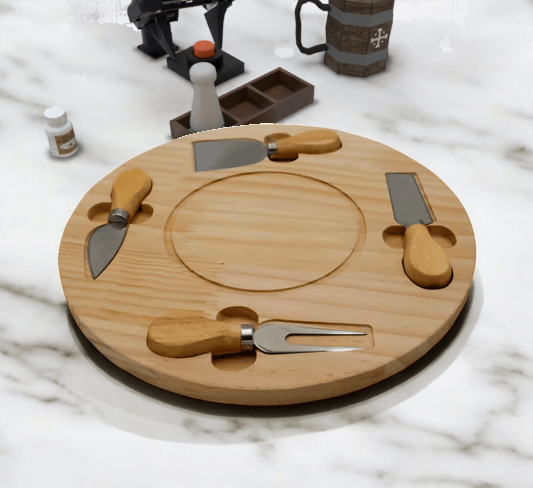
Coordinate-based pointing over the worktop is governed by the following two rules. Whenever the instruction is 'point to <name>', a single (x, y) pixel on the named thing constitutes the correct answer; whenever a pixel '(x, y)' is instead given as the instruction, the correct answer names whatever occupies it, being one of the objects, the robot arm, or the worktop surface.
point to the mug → (352, 35)
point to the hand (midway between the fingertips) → (197, 53)
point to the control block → (220, 60)
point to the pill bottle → (60, 132)
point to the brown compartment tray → (257, 102)
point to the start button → (204, 49)
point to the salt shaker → (204, 99)
